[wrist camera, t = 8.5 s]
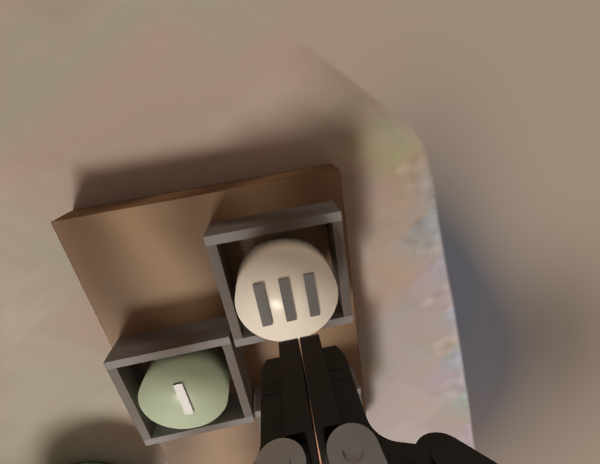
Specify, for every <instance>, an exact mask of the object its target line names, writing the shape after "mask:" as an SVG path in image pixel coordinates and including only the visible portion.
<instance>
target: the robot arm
mask: <svg viewBox="0 0 600 464" xmlns="http://www.w3.org/2000/svg"><path fill="white" fill-rule="evenodd" d="M300 344H301V350H302V356H303V361H302V356H301V351H300V346H299V341H298V338H295V339H290V340H285V341H280V342H279V356H280V357H277V358H272V359H267V360H266V362H265V364H264V366H263V369H262V371H261V442H260V450H259V453H258V455H257V457H256V459H255V462H254V463H253V464H320V460H319V454H318V448H317V442H318V447H319V452H320V457H321V462H322V464H497V463H495V462H494V461H492V460H491V459H489V458H487V457H486V456H484V455H482V454H480V453H479V452H477V451H476V450H474V449H472V448H471V447H469V446H467V445H466V444H464V443H462V442H461V441H459V440H458V439H456V438H454V437H452V436H450V435H447V434H444V433H437V432H434V433H428V434H426V435H424V436H422V437H421V438H420V439H419V440H418V441H417V443H416V444H411V443H403V442H396V441H391V440H388V439H386V438H384V437H382V436H381V435H379V434H378V433H377V432H376V431H375V430H374V429H373V428H372V427H371V426H370V424H369V422H368V420H367V418H366V415H365V412H364V409H363V406H362V403H361V400H360V397H359V394H358V391H357V389H356V386H355V383H354V380H353V377H352V374H351V371H350V369H349V365H348V362H347V359H346V356H345V354H344V353H343V352H342V351H341V350H340V349H339V348H338V347H337V346H336V345H334V346H329V347H324V348H322V345H321V341H320V337H319V334H314V335H309V336H304V337H300ZM303 362H304V366H303ZM304 368H305V371H304ZM305 373H306V376H305ZM306 379H307V382H306ZM307 385H308V388H307ZM308 391H309V394H308ZM309 397H310V400H309ZM310 403H311V406H310ZM311 409H312V412H311ZM312 415H313V418H312ZM313 421H314V424H313ZM314 427H315V430H314ZM315 433H316V436H315ZM316 437H317V442H316Z"/></svg>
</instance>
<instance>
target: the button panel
mask: <svg viewBox="0 0 600 464" xmlns="http://www.w3.org/2000/svg"><path fill="white" fill-rule="evenodd" d="M51 224H52V226H53V228H54V230H55V232H56V234H57V236H58V238H59V240H60V242H61V244H62V246H63V248H64V250H65V252H66V254H67V256H68V258H69V260H70V262H71V265H72V267H73V269H74V271H75V273H76V275H77V277H78V279H79V281H80V283H81V285H82V287H83V289H84V291H85V293H86V295H87V297H88V299H89V301H90V303H91V305H92V307H93V309H94V312H95V314H96V316H97V318H98V320H99V322H100V324H101V326H102V328H103V330H104V332H105V334H106V336H107V338H108V340H109V342H110V344H111V346H112V350H111V351H110V353H109V355H108V356H107V358H106V359H105V361H104V365H105V367H106V369H107V371H108V373H109V375H110V377H111V379H112V381H113V383H114V385H115V387H116V389H117V391H118V393H119V395H120V396H121V398H122V400H123V402H124V404H125V406H126V408H127V410H128V412H129V414H130V416H131V418H132V420H133V422H134V424H135V426H136V427H137V429H138V431H139V433H140V435H141V437H142V439H143V441H144V443H145V445H146V446H148V445H153V444H157V443H159V444H160V446H161V449H162V451H163V453H164V455H165V457H166V459H167V461H168V463H169V464H253V463H254V462H255V459H256V457H257V455H258V453H259V450H260V442H261V371H262V369H263V366H264V364H265V362H266V360H267V359H272V358H277V357H280V356H279V342H280V341H272V340H268V339H264V338H262V337H260V336H258V335H256V334H254V333H253V332H251V331H250V330H249V329H248V328H247V327H246V326H245V325H244V324H243V323H242V322H241V320H240V318H239V316H238V314H237V311H236V307H235V291H236V283H237V275H238V270H239V266H240V264H241V262H242V260H243V258H244V257H245V255H246V254H247V253H248V252H249V251H250V250H251V249H252V248H253V247H254V246H256V245H257V244H259V243H261V242H263V241H265V240H267V239H270V238H274V237H280V236H292V237H298V238H301V239H304V240H307V241H308V242H310V243H312V244H313V245H315V246H316V247H317V248H318V249H319V250H320V251H321V252H322V254H323V255H324V257H325V258H326V260H327V262H328V265H329V267H330V269H331V271H332V273H333V275H334V278H335V280H336V283H337V287H338V301H337V305H336V308H335V311H334V313H333V315H332V316H331V318H330V319H329V320H328V322H327V323H326V324H325V325H324V326H323V327H322V328H320V329H319V330H318V331H316V332H315V333H313V334H311V335H314V334H319V337H320V341H321V345H322V348H324V347H329V346H334V345H336V346H337V347H338V348H339V349H340V350H341V351H342V352H343V353H344V354H345V356H346V359H347V362H348V365H349V369H350V371H351V374H352V377H353V380H354V383H355V386H356V389H357V391H358V394H359V397H360V400H361V403H362V406H363V409H364V412H365V404H364V394H363V385H362V375H361V366H360V357H359V347H358V338H357V328H356V319H355V309H354V300H353V291H352V281H351V272H350V262H349V253H348V243H347V234H346V225H345V215H344V206H343V196H342V187H341V177H340V170H339V169H338V168H337V167H335V166H334V165H332V164H328V165H323V166H317V167H312V168H306V169H300V170H295V171H289V172H284V173H278V174H273V175H267V176H261V177H256V178H250V179H245V180H239V181H234V182H228V183H223V184H217V185H211V186H206V187H200V188H195V189H189V190H184V191H178V192H172V193H167V194H161V195H156V196H150V197H145V198H139V199H134V200H128V201H122V202H117V203H111V204H106V205H100V206H95V207H89V208H83V209H78V210H73V211H71V212H69V213H67V214H65V215H63V216H61V217H59V218H58V219H56V220H54V221H52V222H51ZM298 341H299V346H300V351H301V356H302V350H301V344H300V339H298ZM214 347H218V348H219V349H220V350H221V351H223V352H224V354H225V357H226V360H227V363H228V366H229V369H230V372H231V375H230V385H229V395H228V402H227V405H226V407H225V409H224V411H223V412H222V413H221V414H220V415H219V416H218V417H217V418H216V419H215V420H213V421H211V422H210V423H208V424H205V425H203V426H200V427H196V428H190V429H175V428H169V427H165V426H162V425H160V424H157V423H156V422H154V421H152V420H151V419H149V418H148V417H147V416H146V415H145V414H144V413H143V411H142V410H141V408H140V405H139V402H138V392H139V389H140V386H141V384H142V381H143V379H144V377H145V374H146V372H147V370H148V367H149V365H150V363H151V361H152V360H157V359H161V358H166V357H171V356H176V355H180V354H185V353H190V352H195V351H199V350H204V349H209V348H214ZM302 361H303V356H302ZM303 366H304V362H303ZM304 371H305V368H304ZM305 376H306V373H305ZM306 382H307V379H306ZM307 388H308V385H307ZM308 394H309V391H308ZM309 400H310V397H309ZM310 405H311V403H310ZM365 415H366V413H365Z"/></svg>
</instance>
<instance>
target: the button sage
mask: <svg viewBox="0 0 600 464" xmlns="http://www.w3.org/2000/svg"><path fill="white" fill-rule="evenodd" d="M230 375H231V372H230V369H229V366H228V363H227V360H226V357H225V354H224V352H223V351H221V350H220V349H219V348H218V347H214V348H209V349H204V350H199V351H195V352H190V353H185V354H180V355H176V356H171V357H166V358H161V359H157V360H152V361H151V363H150V365H149V367H148V370H147V372H146V374H145V377H144V379H143V381H142V384H141V386H140V389H139V392H138V402H139V405H140V408H141V410H142V411H143V413H144V414H145V415H146V416H147V417H148V418H149V419H151V420H152V421H154V422H156V423H157V424H160V425H162V426H165V427H169V428H175V429H190V428H196V427H200V426H203V425H205V424H208V423H210V422H211V421H213V420H215V419H216V418H217V417H218V416H219V415H220V414H221V413H222V412H223V411H224V409H225V407H226V405H227V402H228V395H229V385H230Z"/></svg>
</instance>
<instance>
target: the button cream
mask: <svg viewBox="0 0 600 464" xmlns="http://www.w3.org/2000/svg"><path fill="white" fill-rule="evenodd" d="M337 301H338V287H337V283H336V280H335V278H334V275H333V273H332V271H331V269H330V267H329V265H328V262H327V260H326V258H325V257H324V255H323V254H322V252H321V251H320V250H319V249H318V248H317V247H316V246H315V245H313V244H312V243H310V242H308V241H307V240H304V239H301V238H298V237H292V236H280V237H274V238H270V239H267V240H265V241H263V242H261V243H259V244H257V245H256V246H254V247H253V248H252V249H251V250H250V251H249V252H248V253H247V254H246V255H245V257H244V258H243V260H242V262H241V264H240V266H239V270H238V275H237V283H236V291H235V307H236V311H237V314H238V316H239V318H240V320H241V322H242V323H243V324H244V325H245V326H246V327H247V328H248V329H249V330H250V331H251V332H253V333H254V334H256V335H258V336H260V337H262V338H264V339H268V340H272V341H285V340H290V339H295V338H298V339H300V337H304V336H309V335H311V334H313V333H315V332H316V331H318V330H319V329H320V328H322V327H323V326H324V325H325V324H326V323H327V322H328V320H329V319H330V318H331V316H332V315H333V313H334V311H335V308H336V305H337Z"/></svg>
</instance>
